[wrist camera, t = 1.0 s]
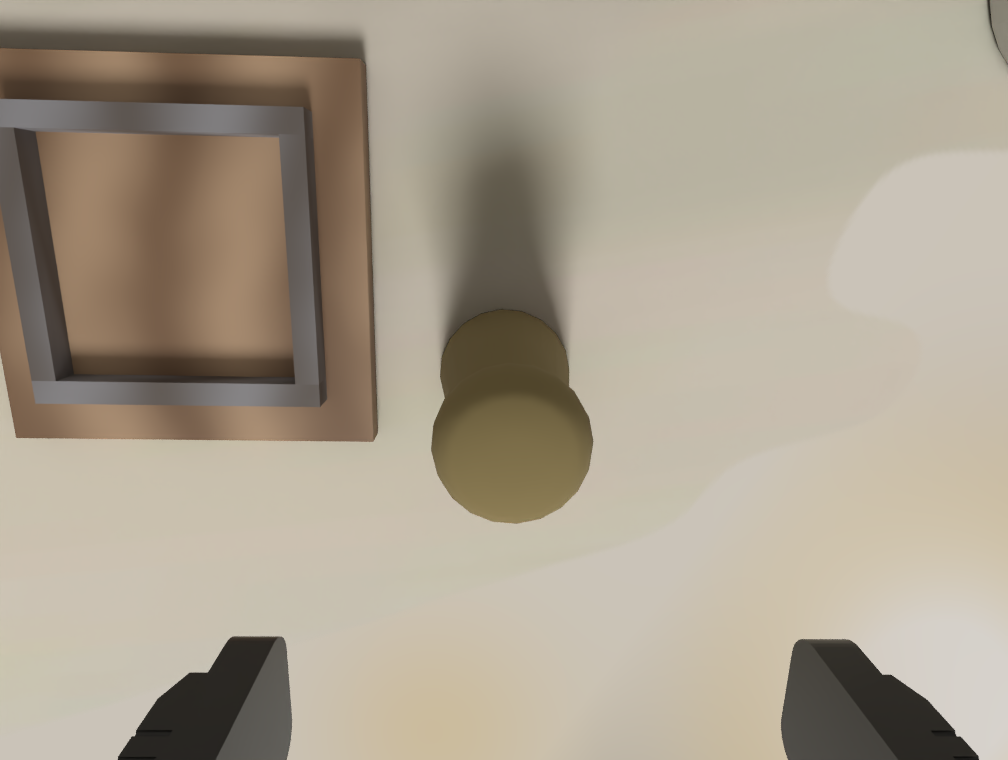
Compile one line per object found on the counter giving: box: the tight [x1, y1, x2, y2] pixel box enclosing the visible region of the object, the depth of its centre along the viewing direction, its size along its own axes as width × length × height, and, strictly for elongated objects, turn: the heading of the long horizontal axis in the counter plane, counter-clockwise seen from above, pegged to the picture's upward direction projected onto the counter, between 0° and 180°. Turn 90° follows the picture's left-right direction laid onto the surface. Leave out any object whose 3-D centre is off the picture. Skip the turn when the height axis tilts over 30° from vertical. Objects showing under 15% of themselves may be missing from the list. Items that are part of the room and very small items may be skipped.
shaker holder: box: [0, 48, 378, 442], centre depth 26 cm, size 16×16×2 cm
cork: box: [431, 309, 593, 524], centre depth 24 cm, size 6×6×11 cm
